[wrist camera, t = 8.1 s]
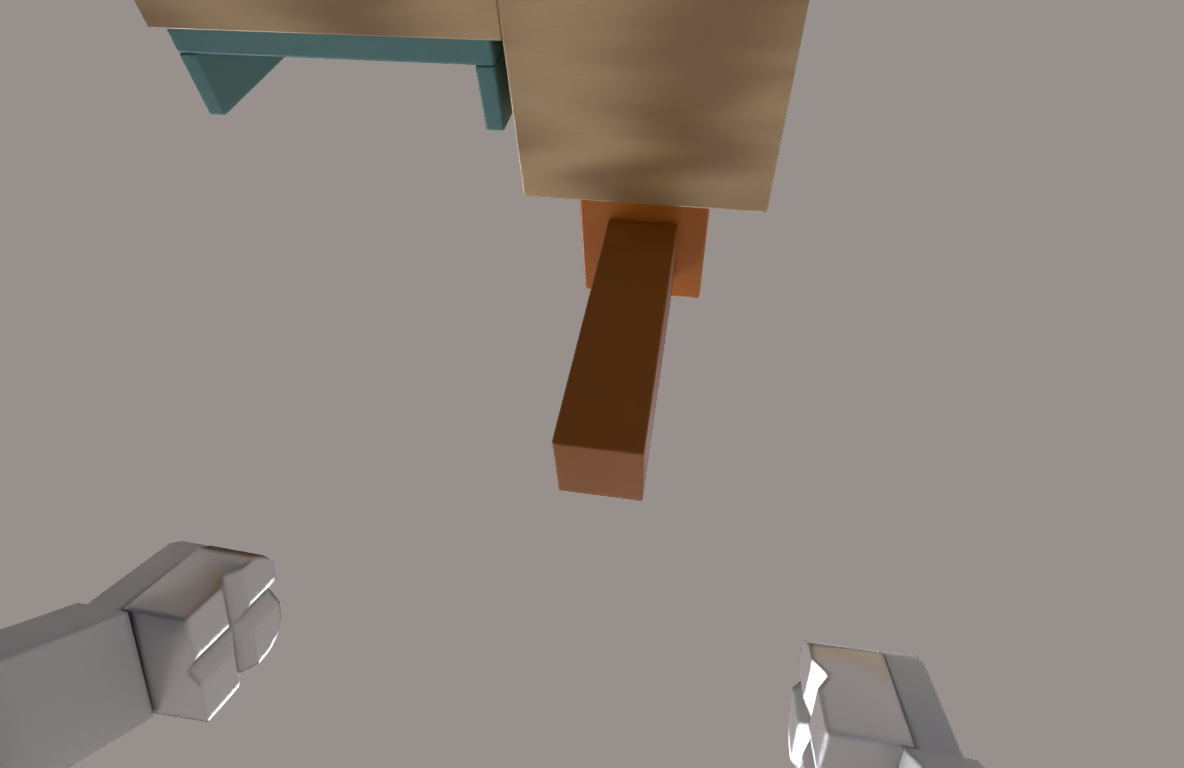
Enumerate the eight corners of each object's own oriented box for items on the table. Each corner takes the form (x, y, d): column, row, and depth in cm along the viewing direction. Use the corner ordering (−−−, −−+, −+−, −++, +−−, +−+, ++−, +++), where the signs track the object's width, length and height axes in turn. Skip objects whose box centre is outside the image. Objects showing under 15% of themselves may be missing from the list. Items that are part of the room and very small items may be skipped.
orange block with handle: (727, 40, 29) (716, 133, 32) (626, 37, 29) (626, 128, 33) (689, 436, 15) (677, 523, 19) (505, 415, 16) (526, 503, 19)
